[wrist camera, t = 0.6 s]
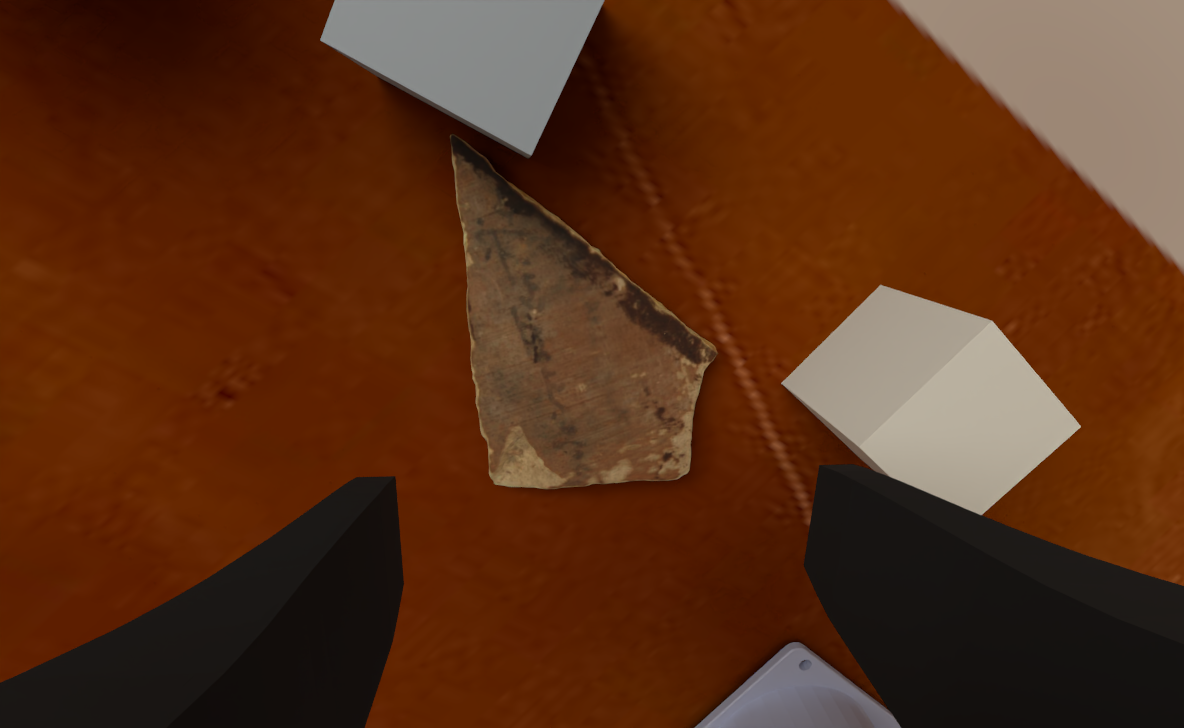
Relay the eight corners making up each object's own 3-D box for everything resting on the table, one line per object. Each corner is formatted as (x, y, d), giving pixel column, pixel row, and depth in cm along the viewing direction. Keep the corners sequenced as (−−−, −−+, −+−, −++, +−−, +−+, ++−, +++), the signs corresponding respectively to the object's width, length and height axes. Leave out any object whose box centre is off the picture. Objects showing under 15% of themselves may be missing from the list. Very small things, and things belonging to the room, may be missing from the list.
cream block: (955, 368, 21) (1081, 426, 16) (860, 458, 22) (954, 538, 17) (879, 284, 20) (992, 320, 15) (780, 382, 20) (858, 446, 16)
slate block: (601, 4, 16) (633, -63, 12) (528, 158, 17) (531, 155, 13) (446, -94, 15) (412, -211, 11) (378, 76, 16) (319, 40, 12)
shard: (455, 135, 17) (447, 132, 16) (713, 129, 18) (733, 125, 16) (486, 471, 21) (483, 499, 19) (702, 455, 22) (718, 479, 20)
